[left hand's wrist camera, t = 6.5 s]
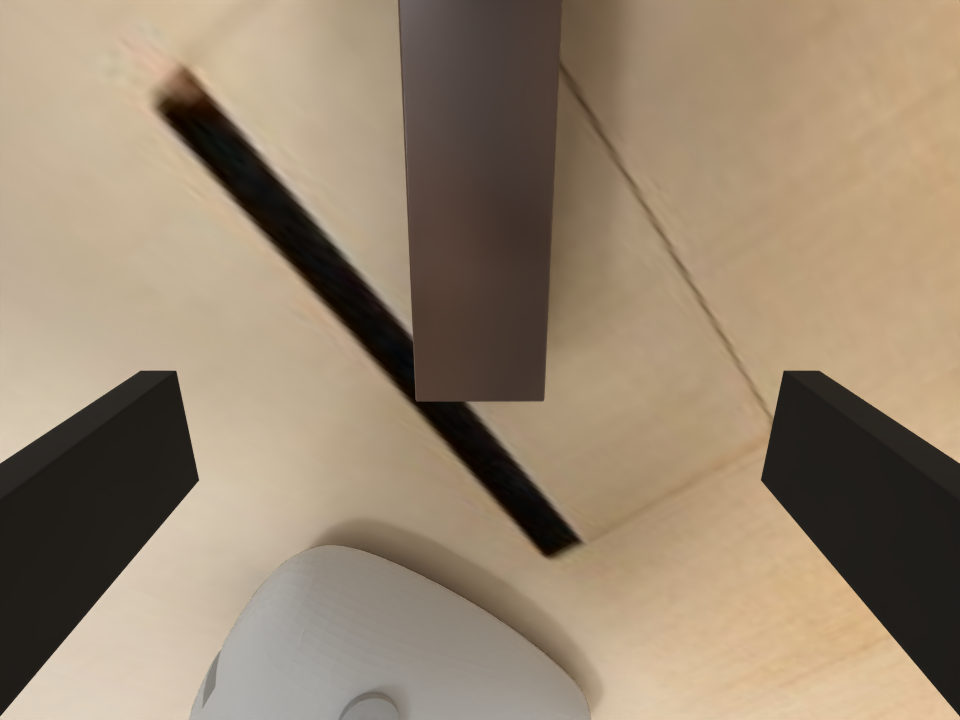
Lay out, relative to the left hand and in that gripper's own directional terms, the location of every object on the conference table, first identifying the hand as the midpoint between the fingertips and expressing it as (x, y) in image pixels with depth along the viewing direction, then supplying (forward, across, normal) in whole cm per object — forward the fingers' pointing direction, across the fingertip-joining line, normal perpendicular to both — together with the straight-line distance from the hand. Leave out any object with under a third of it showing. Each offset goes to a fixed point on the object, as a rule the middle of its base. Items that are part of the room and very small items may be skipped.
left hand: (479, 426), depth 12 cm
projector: (+17, -4, -26) cm, 31 cm away
